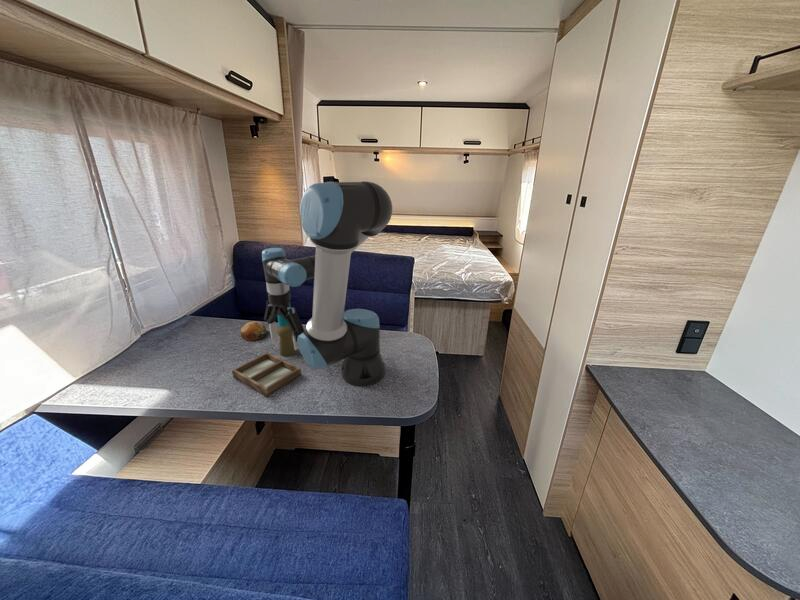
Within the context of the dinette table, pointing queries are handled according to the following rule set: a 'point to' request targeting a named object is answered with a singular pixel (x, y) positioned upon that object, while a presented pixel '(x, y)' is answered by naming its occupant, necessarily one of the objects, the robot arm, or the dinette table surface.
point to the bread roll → (253, 331)
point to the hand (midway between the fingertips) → (286, 342)
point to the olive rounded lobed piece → (286, 341)
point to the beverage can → (282, 320)
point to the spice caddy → (266, 373)
